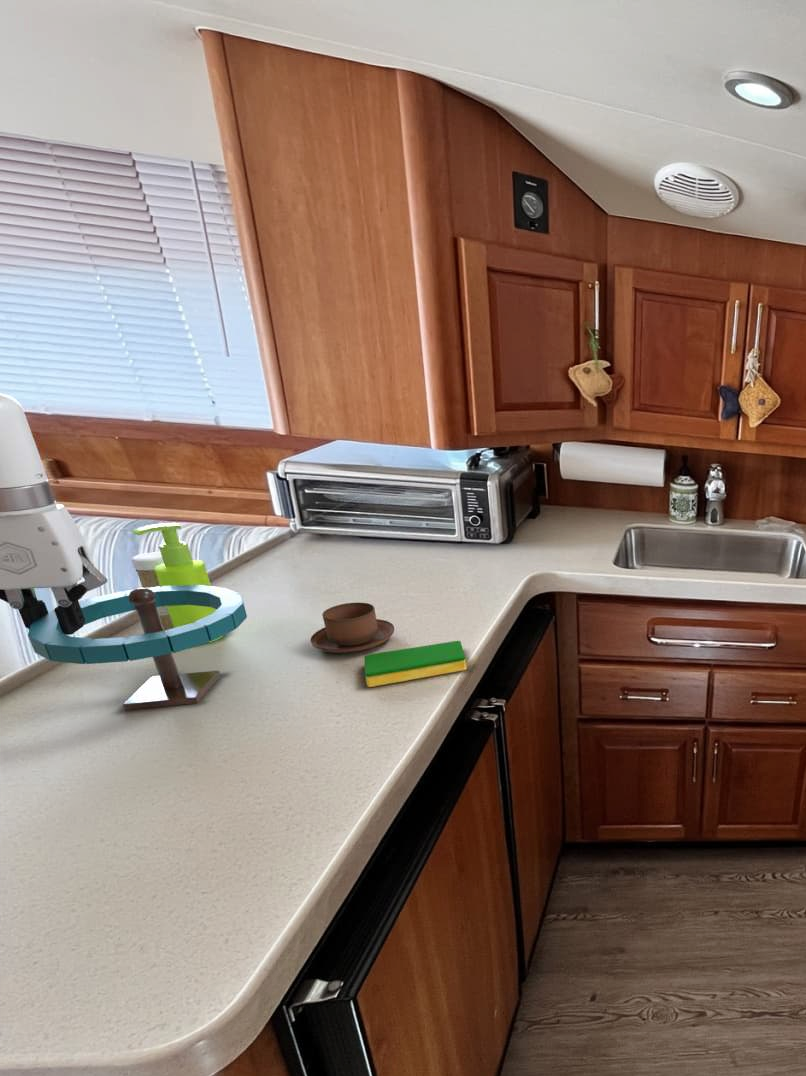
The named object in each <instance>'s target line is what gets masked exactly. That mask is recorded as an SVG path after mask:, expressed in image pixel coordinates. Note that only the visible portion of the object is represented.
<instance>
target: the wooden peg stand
mask: <svg viewBox="0 0 806 1076" xmlns="http://www.w3.org/2000/svg"><path fill="white" fill-rule="evenodd" d="M131 590H132V591H131V592H130V594H129V601H130V602H131V603H132V604H134V606H135V609H136V610H135V611H136V615H137V617H138V620H139V623H140V626H141V628H142V631H143V634H149V633H155V632H161V631H164V628H163V625H162V622H161V619H160V617H159V614H158V611H157V608H156V605H155V602H154V601H155V599H156V596H155V593H154V592H153V591H152V590H150V589H147V588H142V587H137V588H134V589H131ZM152 661H153V662H154V665H155V668H156V671H157V673H158V675H152V676H150V677H149V678H148V679H147V680H146V681H145V682H144V683H143V684H142V685H141V686H140V687H138V689H137V690H136V691H135V692H134V693H133V694H132V695H131V696H129V698H128V699H126V700H125V701H124V703H122V707H123V709H124V711H132V710H141V709H142V710H143V709H150V708H161V707H162V708H163V707H171V706H182V705H191V704H198V703H199V702H200V701H201V700H202V699H203V697H204V696H205V695H206V694H207V693H208V691H209V690H210V689H211V688H212V687H213V685H215V683H216V682H217V681H218V680H219V679H220V677H221V673H220V670H210V671H199V672H188V673H187V672H186V673H179V670H178V667H177V664H176V662H175V658H174V655H173V652H172V653H171V654H166V655H161V656H155V657H152Z"/></svg>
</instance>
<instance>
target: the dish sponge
mask: <svg viewBox="0 0 806 1076" xmlns="http://www.w3.org/2000/svg"><path fill="white" fill-rule="evenodd" d="M467 668H468V667H467V660H466V655H465V652H464V649H463V645H462V641H461V640H454V641H447V642H446V641H445V642H441V643H434V644H427V645H421V646H416V647H409V648H403V649H396V650H390V651H384V652H377V653H370V654H366V655H364V677H365V683H366V687H368V688H371V687H377V686H378V687H379V686H384V685H388V684H395V683H400V682H406V681H411V680H412V681H413V680H417V679H423V678H427V677H433V676H439V675H443V674H444V675H445V674H451V673H455V672H460V671H466V670H467Z"/></svg>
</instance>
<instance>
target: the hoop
mask: <svg viewBox="0 0 806 1076" xmlns="http://www.w3.org/2000/svg"><path fill="white" fill-rule="evenodd" d="M147 589H150V590H152V591H153V592H154V593H155V596H156V599H155V601H154V602H155V605H156V607H160V606H177V605H195V606H205V607H212V608H214V609H217V610H216V611H215V612H214V613H213V614H211V615H209V616H207V617H205V618H202V619H200V620H198V621H196V622H193V623H190V624H187V625H183V626H180V627H176V628H172V629H169V630H165V631H161V632H155V633H149V634H144V633H143V634H137V635H132V636H124V637H123V636H121V637H104V638H90V637H78V636H70V635H65V634H64V633H63V631H62V628H61V626H60V623H59V621H58V619H57V616H56V614H55V611H54V609H53V610H52V611H48V614H46V615H45V616H43V617H41V618H40V619H38V620H37V621H35V622H33V623H32V624H31V625H30V629H28V633H27V637H28V640H29V642H30V644H31V647H32V649H33V652H34V653H35V654H37V655H38V656H41V657H43V658H44V659H46V660H48V661H51V662H56V663H67V664H77V665H85V664H86V665H93V664H95V665H96V664H109V663H125V662H128V661H129V662H132V661H133V662H134V661H138V660H144V659H148V658H153V657H155V656H161V655H166V654H171V653H172V654H173V653H174V654H176V653H178V652H182V651H186V650H188V649H191V648H195V647H198V646H202V645H205V644H208V642H209V643H211V642H210V641H212V642H214V641H213V640H215V639H217V638H219V637H221V636H223V635H224V636H225V635H227V634H229V633H231V632H233V631H235V630H237V629H238V628H239V627H240V626H241V625H242V624H243V622H245V620H246V619H247V617H248V615H247V612H246V608H245V607H246V606H245V604H244V600H243V597H242V595H241V593H240V592H237V591H234V590H232V589H229V588H227V587H223V586H214V585H211V586H204V585H196V586H195V585H176V586H162V587H161V586H157V587H149V588H147ZM132 590H133V589H127V590H123V591H117V592H111V593H108V594H103V595H99V596H95V597H94V596H93V597H89V598H85V599H82V600H78V601H79V604H80V607H81V610H82V612H83V615H84V618H85V623H84V626H85V625H88V624H90V623H93V622H97V621H98V620H101V619H104V618H107V617H112V616H116V615H121V614H125V613H129V612H132V611H136V609H135V606H134V604H132V603H131V602H130V601H129V594H130V592H131V591H132ZM224 636H223V637H224ZM221 638H222V637H221ZM215 641H216V640H215Z"/></svg>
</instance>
